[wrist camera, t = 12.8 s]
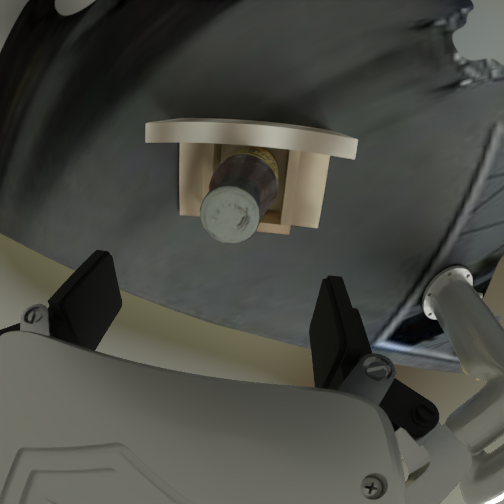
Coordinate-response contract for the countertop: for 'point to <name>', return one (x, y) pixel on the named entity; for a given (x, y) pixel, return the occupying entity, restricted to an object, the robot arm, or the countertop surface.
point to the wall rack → (266, 136)
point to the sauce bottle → (240, 194)
